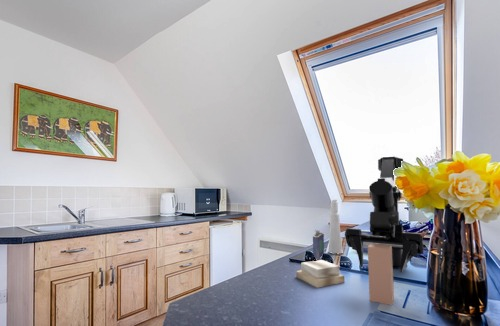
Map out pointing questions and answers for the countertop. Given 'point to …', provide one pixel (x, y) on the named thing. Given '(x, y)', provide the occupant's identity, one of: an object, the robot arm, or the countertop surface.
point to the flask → (318, 244)
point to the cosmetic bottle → (335, 230)
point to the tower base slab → (320, 279)
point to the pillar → (380, 273)
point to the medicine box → (366, 244)
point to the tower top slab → (320, 268)
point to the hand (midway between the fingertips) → (380, 268)
